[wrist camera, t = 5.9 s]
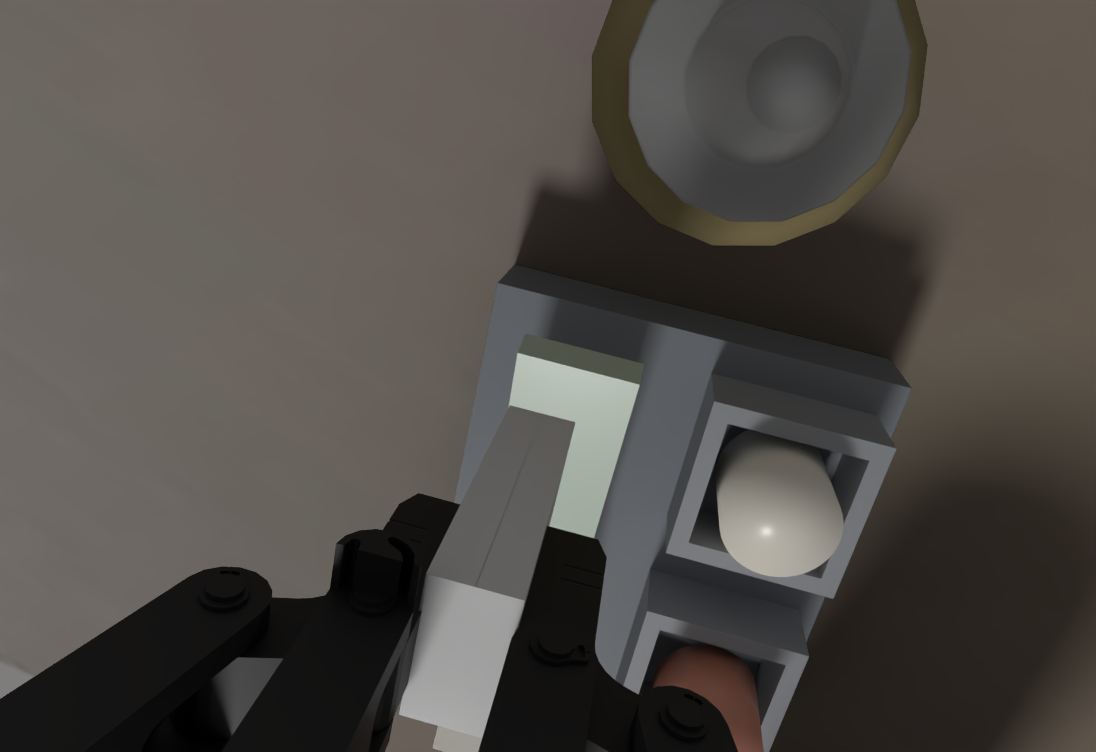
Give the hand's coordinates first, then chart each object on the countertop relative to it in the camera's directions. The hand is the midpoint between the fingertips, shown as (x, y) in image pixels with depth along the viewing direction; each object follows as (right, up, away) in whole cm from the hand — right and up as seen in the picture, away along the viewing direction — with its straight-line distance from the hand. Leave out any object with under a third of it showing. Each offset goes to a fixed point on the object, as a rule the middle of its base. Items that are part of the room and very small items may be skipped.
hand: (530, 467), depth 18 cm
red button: (+6, -9, +11) cm, 15 cm away
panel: (+4, -3, +14) cm, 15 cm away
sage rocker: (+1, 0, +8) cm, 8 cm away
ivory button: (+8, -1, +9) cm, 12 cm away
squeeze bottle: (+6, +12, +9) cm, 16 cm away
